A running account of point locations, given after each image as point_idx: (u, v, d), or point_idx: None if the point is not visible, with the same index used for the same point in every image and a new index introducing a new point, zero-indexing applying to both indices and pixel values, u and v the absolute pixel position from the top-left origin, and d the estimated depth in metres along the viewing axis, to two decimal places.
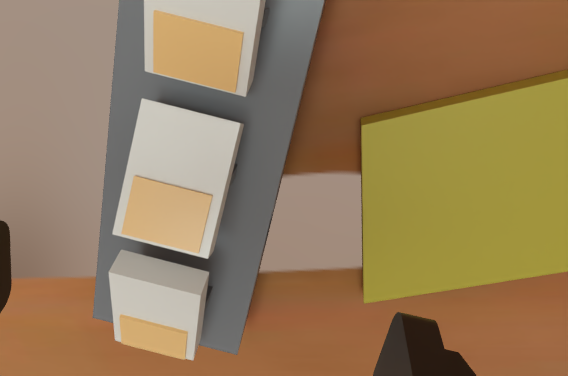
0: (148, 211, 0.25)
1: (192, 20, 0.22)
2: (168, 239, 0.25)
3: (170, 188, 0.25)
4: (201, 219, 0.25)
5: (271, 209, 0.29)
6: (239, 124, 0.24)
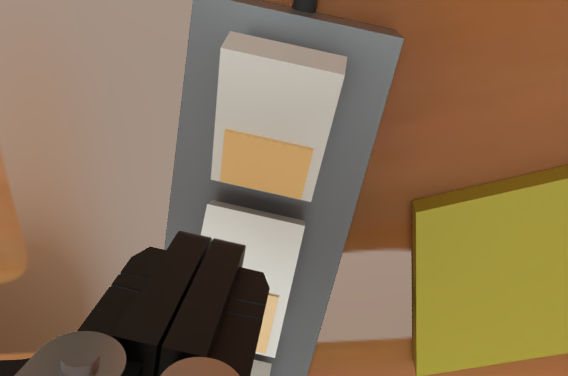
0: None
1: (262, 138, 0.22)
2: None
3: None
4: (268, 320, 0.25)
5: (328, 295, 0.29)
6: (304, 227, 0.25)
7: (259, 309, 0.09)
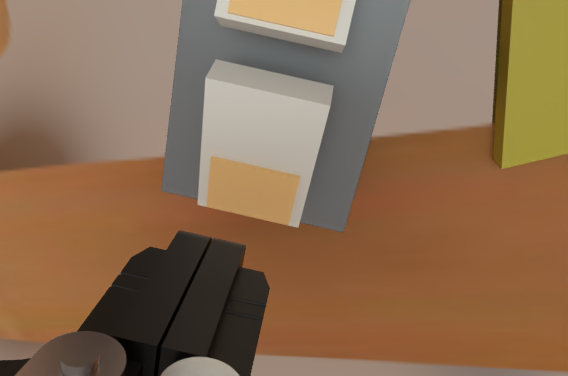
0: None
1: None
2: (292, 17, 0.18)
3: None
4: None
5: (404, 15, 0.22)
6: None
7: (259, 309, 0.09)
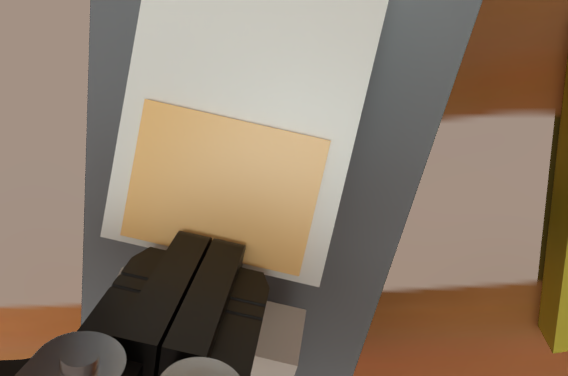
0: (182, 182, 0.11)
1: None
2: None
3: (231, 126, 0.10)
4: (305, 197, 0.11)
5: (417, 179, 0.14)
6: None
7: (259, 309, 0.09)
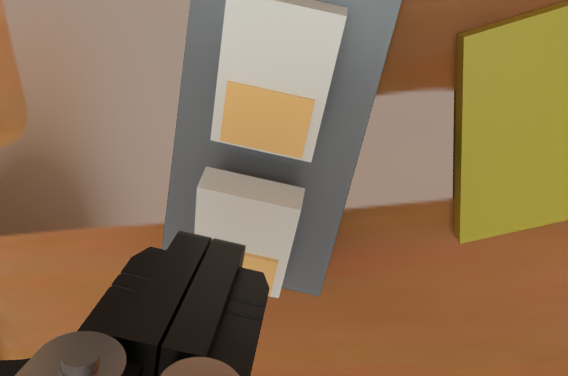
0: (246, 118, 0.23)
1: None
2: (269, 145, 0.24)
3: (268, 93, 0.22)
4: (303, 125, 0.23)
5: (366, 122, 0.26)
6: (345, 17, 0.20)
7: (259, 309, 0.09)
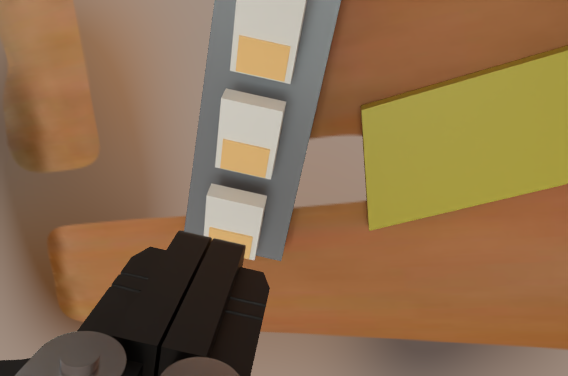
0: (234, 157, 0.42)
1: (261, 40, 0.38)
2: (247, 171, 0.43)
3: (245, 146, 0.41)
4: (265, 161, 0.42)
5: (304, 157, 0.45)
6: (282, 112, 0.39)
7: (259, 309, 0.09)
